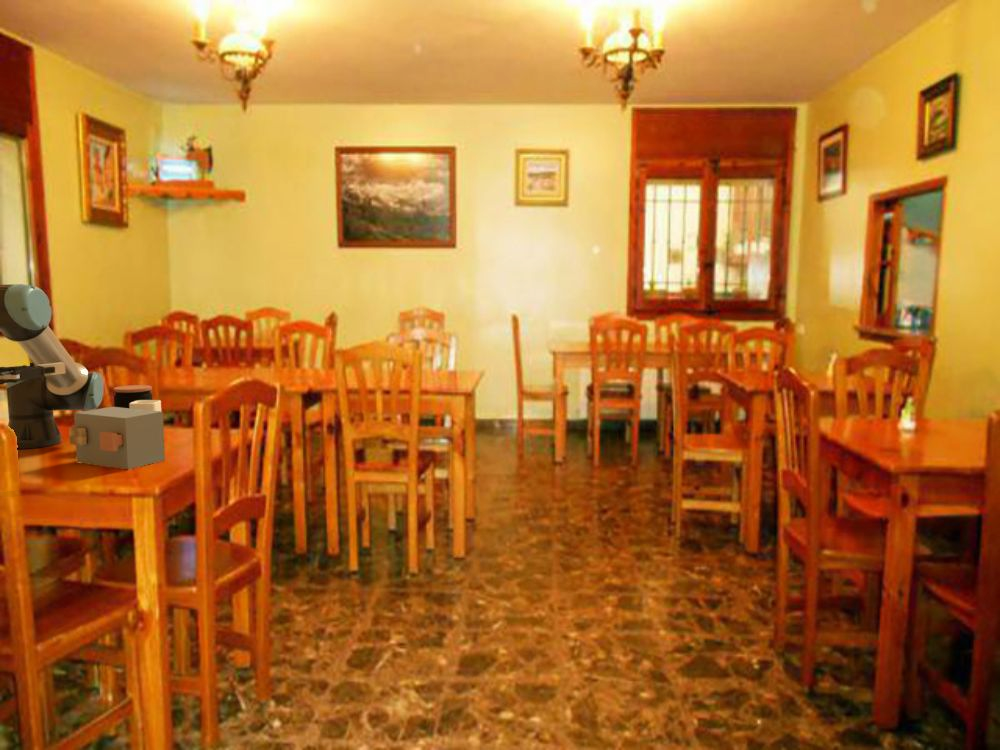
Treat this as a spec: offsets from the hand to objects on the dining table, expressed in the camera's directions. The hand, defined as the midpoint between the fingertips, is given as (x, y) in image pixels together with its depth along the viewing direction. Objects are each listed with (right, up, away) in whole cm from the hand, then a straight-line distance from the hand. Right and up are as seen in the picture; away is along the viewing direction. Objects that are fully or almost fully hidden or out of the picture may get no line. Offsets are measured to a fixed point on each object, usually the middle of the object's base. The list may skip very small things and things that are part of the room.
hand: (63, 367), depth 185 cm
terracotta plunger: (+10, -21, +13) cm, 27 cm away
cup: (+5, -25, +33) cm, 42 cm away
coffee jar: (-3, -24, +42) cm, 48 cm away
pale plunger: (-2, -20, +20) cm, 28 cm away
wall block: (+5, -26, +19) cm, 33 cm away
